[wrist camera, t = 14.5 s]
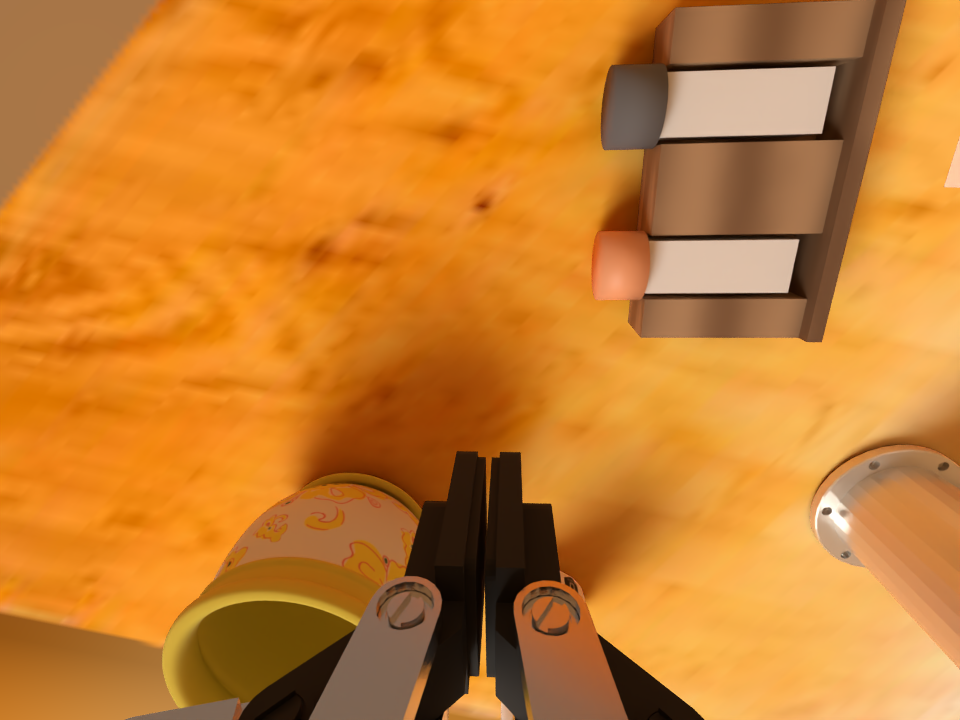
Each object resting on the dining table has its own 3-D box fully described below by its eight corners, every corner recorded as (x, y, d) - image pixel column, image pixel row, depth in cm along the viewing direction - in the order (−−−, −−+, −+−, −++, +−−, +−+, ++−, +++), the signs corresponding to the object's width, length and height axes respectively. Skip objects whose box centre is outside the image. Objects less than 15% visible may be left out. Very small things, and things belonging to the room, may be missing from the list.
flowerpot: (471, 583, 49) (453, 767, 34) (310, 604, 51) (225, 785, 36) (425, 432, 43) (378, 572, 28) (245, 464, 45) (109, 609, 30)
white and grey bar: (806, 67, 31) (856, 47, 26) (790, 147, 33) (834, 142, 28) (603, 73, 32) (619, 56, 27) (599, 152, 33) (612, 147, 29)
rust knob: (775, 225, 34) (814, 232, 30) (762, 290, 36) (798, 306, 32) (594, 228, 35) (606, 235, 31) (590, 291, 37) (600, 307, 32)
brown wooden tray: (847, 20, 30) (908, -9, 26) (782, 321, 37) (821, 342, 33) (655, 28, 31) (681, 1, 26) (628, 322, 38) (644, 341, 33)
